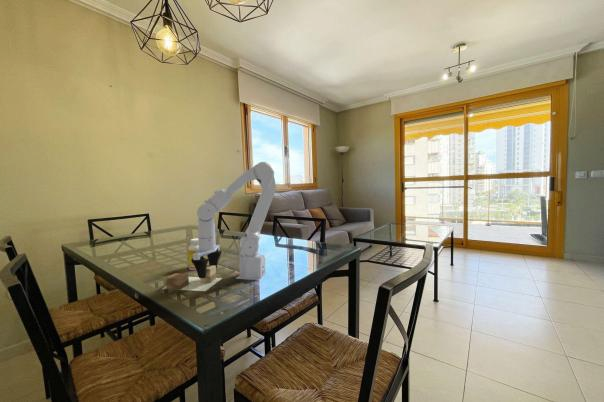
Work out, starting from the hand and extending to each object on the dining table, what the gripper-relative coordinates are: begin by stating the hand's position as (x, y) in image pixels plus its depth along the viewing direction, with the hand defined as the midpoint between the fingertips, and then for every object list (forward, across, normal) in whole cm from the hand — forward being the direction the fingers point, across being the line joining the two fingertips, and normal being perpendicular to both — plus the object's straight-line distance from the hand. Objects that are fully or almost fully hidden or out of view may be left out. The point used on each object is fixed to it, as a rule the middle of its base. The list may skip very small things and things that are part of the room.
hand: (207, 274), depth 91 cm
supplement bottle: (+3, -14, -13) cm, 19 cm away
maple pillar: (+2, 0, 0) cm, 2 cm away
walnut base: (+2, +6, -8) cm, 10 cm away
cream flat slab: (+3, +3, -4) cm, 6 cm away
